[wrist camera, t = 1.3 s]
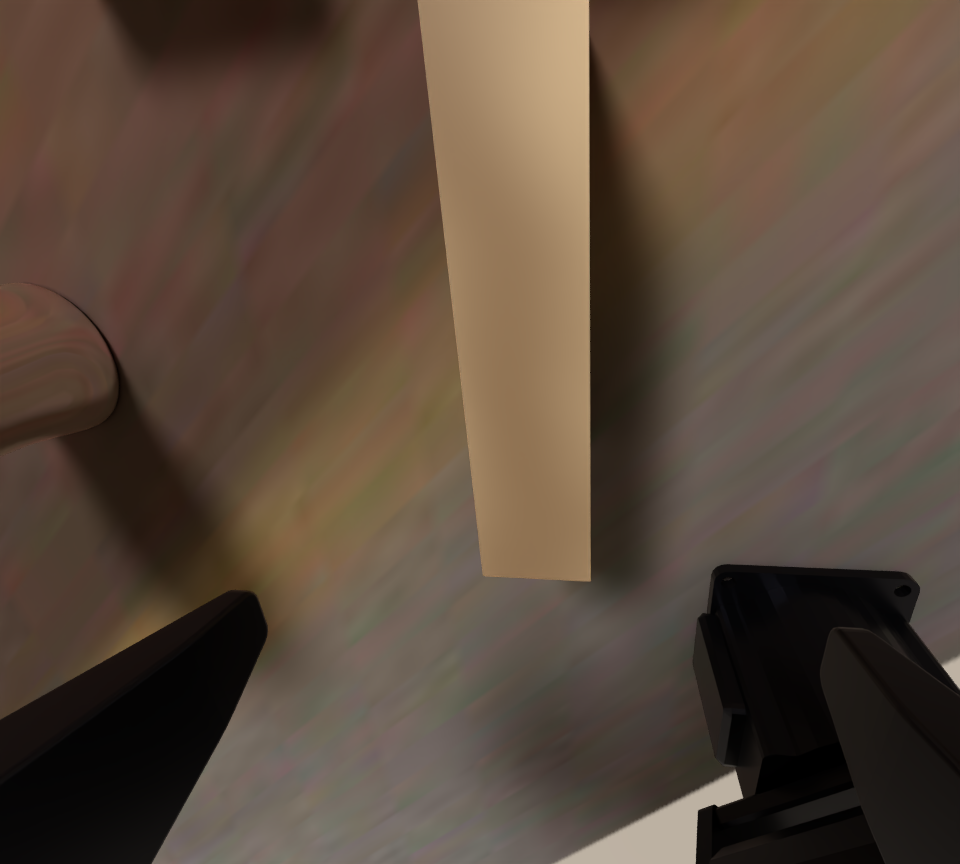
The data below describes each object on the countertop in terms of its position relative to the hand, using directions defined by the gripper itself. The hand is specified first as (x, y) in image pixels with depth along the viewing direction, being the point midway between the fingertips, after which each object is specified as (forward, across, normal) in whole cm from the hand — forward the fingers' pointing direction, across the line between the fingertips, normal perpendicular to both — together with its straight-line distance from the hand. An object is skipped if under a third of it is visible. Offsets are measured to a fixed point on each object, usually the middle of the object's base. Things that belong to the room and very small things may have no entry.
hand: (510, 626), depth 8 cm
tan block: (+10, 0, -4) cm, 11 cm away
